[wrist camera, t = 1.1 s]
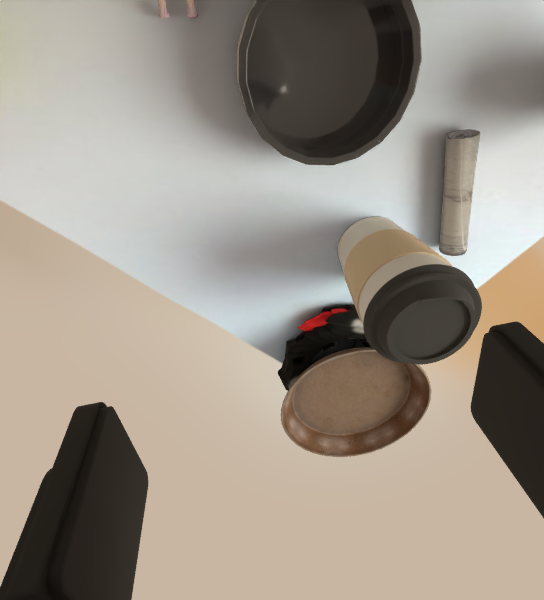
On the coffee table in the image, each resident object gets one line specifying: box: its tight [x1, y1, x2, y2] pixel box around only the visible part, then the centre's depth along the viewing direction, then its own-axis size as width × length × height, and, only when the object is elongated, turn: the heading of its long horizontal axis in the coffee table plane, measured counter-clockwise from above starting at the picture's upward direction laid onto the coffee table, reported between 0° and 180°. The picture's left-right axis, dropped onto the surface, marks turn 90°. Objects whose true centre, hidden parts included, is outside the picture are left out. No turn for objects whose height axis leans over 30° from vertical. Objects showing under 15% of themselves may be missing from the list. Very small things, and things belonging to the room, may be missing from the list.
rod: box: [439, 130, 480, 256], centre depth 39 cm, size 12×3×3 cm, turn 10°
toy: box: [278, 305, 372, 391], centre depth 49 cm, size 17×16×3 cm
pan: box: [237, 0, 422, 165], centre depth 31 cm, size 13×13×4 cm
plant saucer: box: [281, 347, 431, 457], centre depth 48 cm, size 18×18×3 cm
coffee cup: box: [338, 217, 482, 364], centre depth 36 cm, size 9×9×15 cm
